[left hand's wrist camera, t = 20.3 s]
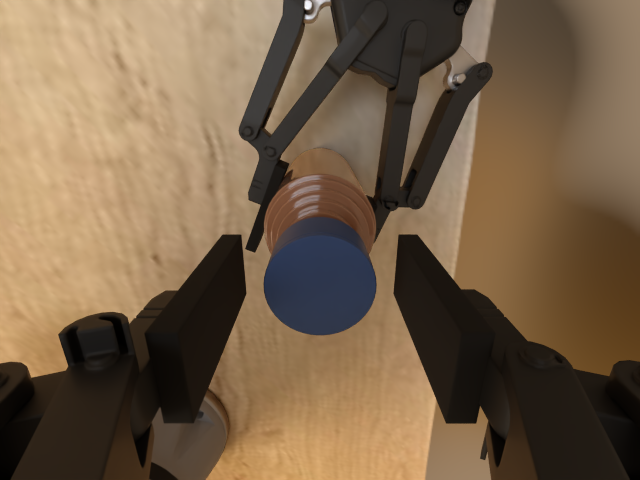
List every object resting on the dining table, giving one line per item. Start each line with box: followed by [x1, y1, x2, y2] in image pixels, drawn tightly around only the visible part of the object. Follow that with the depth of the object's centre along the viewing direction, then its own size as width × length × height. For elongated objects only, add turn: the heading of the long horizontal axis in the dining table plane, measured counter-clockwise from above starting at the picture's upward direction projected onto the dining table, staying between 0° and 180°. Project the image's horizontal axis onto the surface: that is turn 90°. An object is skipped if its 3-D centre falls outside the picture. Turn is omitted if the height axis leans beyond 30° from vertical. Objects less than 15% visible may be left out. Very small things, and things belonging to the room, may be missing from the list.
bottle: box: [264, 148, 376, 255], centre depth 22 cm, size 6×6×19 cm
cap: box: [264, 217, 376, 335], centre depth 13 cm, size 4×4×2 cm
